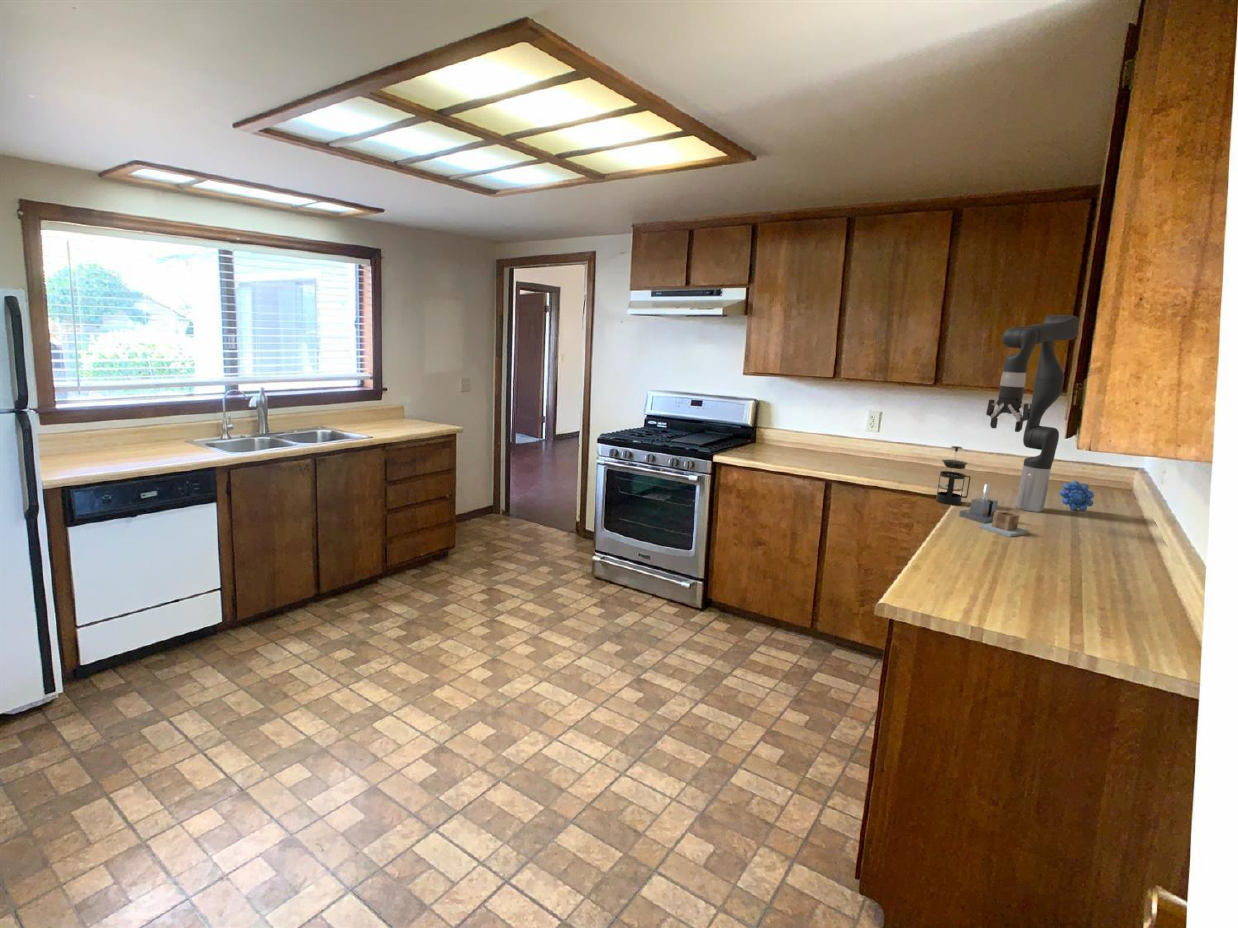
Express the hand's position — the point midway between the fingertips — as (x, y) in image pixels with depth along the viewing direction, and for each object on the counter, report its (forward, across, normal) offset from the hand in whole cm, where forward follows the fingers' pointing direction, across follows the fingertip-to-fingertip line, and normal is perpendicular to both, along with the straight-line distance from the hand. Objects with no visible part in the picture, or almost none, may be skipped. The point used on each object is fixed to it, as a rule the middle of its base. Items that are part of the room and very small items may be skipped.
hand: (1005, 429), depth 231 cm
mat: (+33, -12, +12) cm, 37 cm away
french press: (+34, +21, -6) cm, 40 cm away
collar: (+32, -12, +12) cm, 36 cm away
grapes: (+35, -6, -47) cm, 58 cm away
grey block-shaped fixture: (+33, +1, +4) cm, 33 cm away
